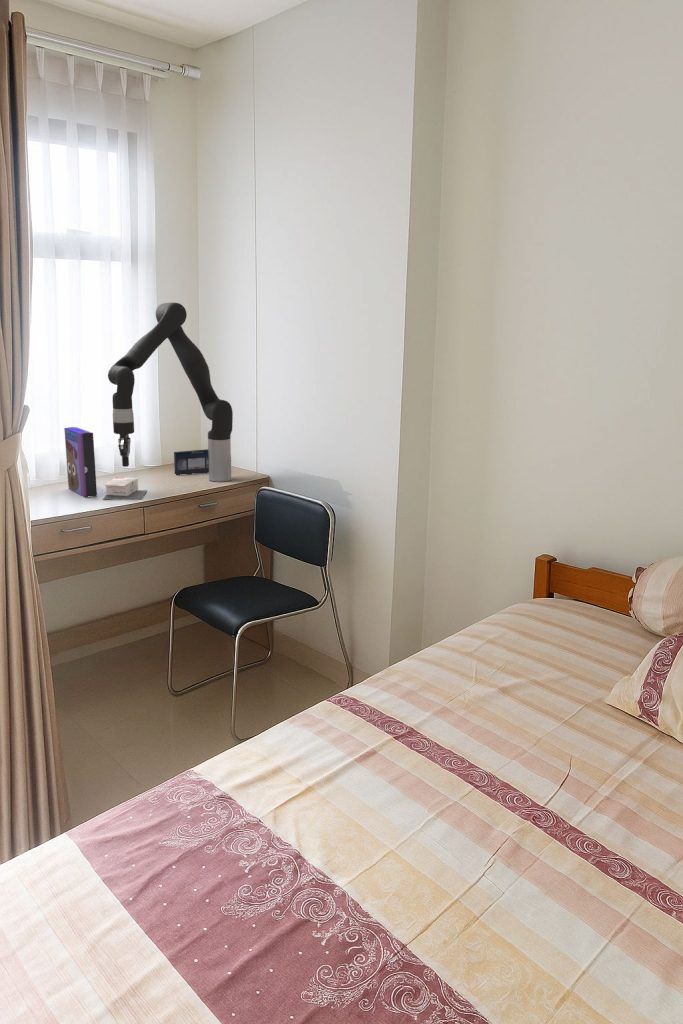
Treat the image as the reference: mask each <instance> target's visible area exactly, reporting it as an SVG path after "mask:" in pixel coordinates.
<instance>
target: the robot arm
mask: <svg viewBox="0 0 683 1024" xmlns="http://www.w3.org/2000/svg"><path fill="white" fill-rule="evenodd" d="M155 318H156V322H157V324H155V326H154V327H152V329H150V330H149V331H148V332H147V333H146V334H144V335H143V336H142V337H141V338H139V339H138V340H137V341H136V342H135V343H134V344H133V345H132V347H131V348H130V349H129V350H128V351H127V353H126V354H125V355H124V356H122V357H121V358H120V359H118V360H117V361H116V362H115V363H113V365H112V366H111V367H110V369H109V370H108V371H107V372H108V373H107V378H108V381H109V382H110V383H111V384H113V385H116V391H115V392H114V393H113V394H112V424H113V425H112V428H113V433H114V434H115V435H119V437H118V438H117V439H118V440H117V443H118V444H117V447H118V450H119V455H120V456H121V465H122V467H125V468H126V467H127V468H128V467H129V466H130V457H129V456H130V453H131V441H132V440H131V437H130V435H132V434H134V433H135V416H134V410H133V393H134V389H135V388H134V387H135V374H134V371H135V370H138V369H141V367H143V365H145V363H146V362H147V361H148V360H149V358H150V357H151V356H152V355H153V353H155V351H156V350H157V349H158V348H159V347H160V346H161V344H163V343H164V342H165V341H166V340H167V339H168V341H169V343H170V345H171V346H172V347H171V348H172V349H173V350H174V352H175V355H176V357H177V358H178V360H179V363H180V365H181V367H182V369H183V371H184V373H185V374H186V376H187V379H189V381H190V384H191V386H192V388H193V389H194V391H195V394H196V395H197V397H198V400H199V403H200V405H201V408H202V411H203V413H204V415H205V417H206V418H207V419H208V420H209V421H211V430H209V431H208V432H207V449H208V463H209V473H208V480H209V481H211V482H219V483H221V482H230V481H232V451H231V450H232V448H231V447H232V446H231V445H232V443H231V436H232V435H231V434H232V432H233V418H234V417H233V416H234V415H233V414H234V413H233V407H232V405H231V404H230V402H229V401H227V400H225V399H220V398H219V396H218V395H217V393H216V390H214V388H213V385H212V382H211V372H210V368H209V365H208V363H207V361H206V359H205V357H204V354H203V353H202V351H201V350H200V348H199V347H197V345H196V344H195V343H194V342H193V341H192V340H191V339H190V338H189V337H188V336H187V334H186V333H185V331H184V329H183V327H182V325H184V323H185V322H186V320H187V310H186V308H185V306H184V305H182V304H181V303H178V302H165V303H161V304H158V306H157V307H156V309H155Z"/></svg>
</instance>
